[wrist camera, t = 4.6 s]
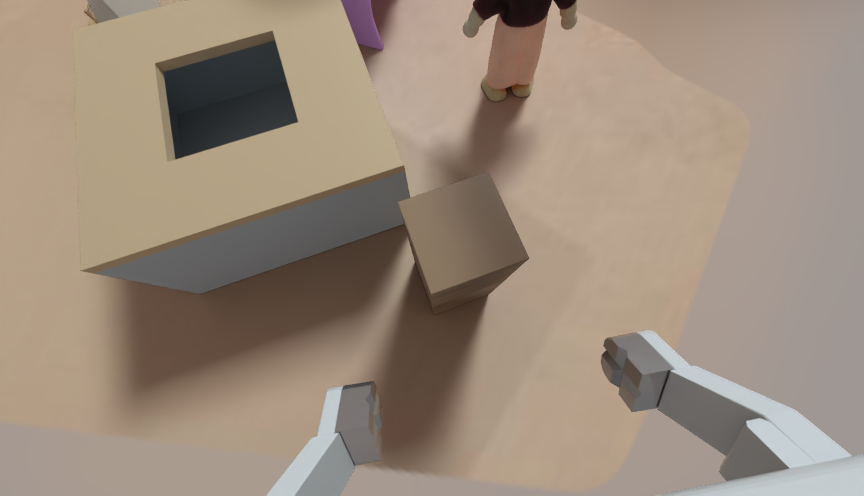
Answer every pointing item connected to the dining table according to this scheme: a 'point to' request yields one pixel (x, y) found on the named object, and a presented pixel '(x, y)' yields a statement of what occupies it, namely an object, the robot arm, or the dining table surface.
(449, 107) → the dining table surface
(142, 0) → the architectural model
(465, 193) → the walnut peg
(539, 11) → the grandmother figurine
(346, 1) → the toy chair
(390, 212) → the box with square hole
